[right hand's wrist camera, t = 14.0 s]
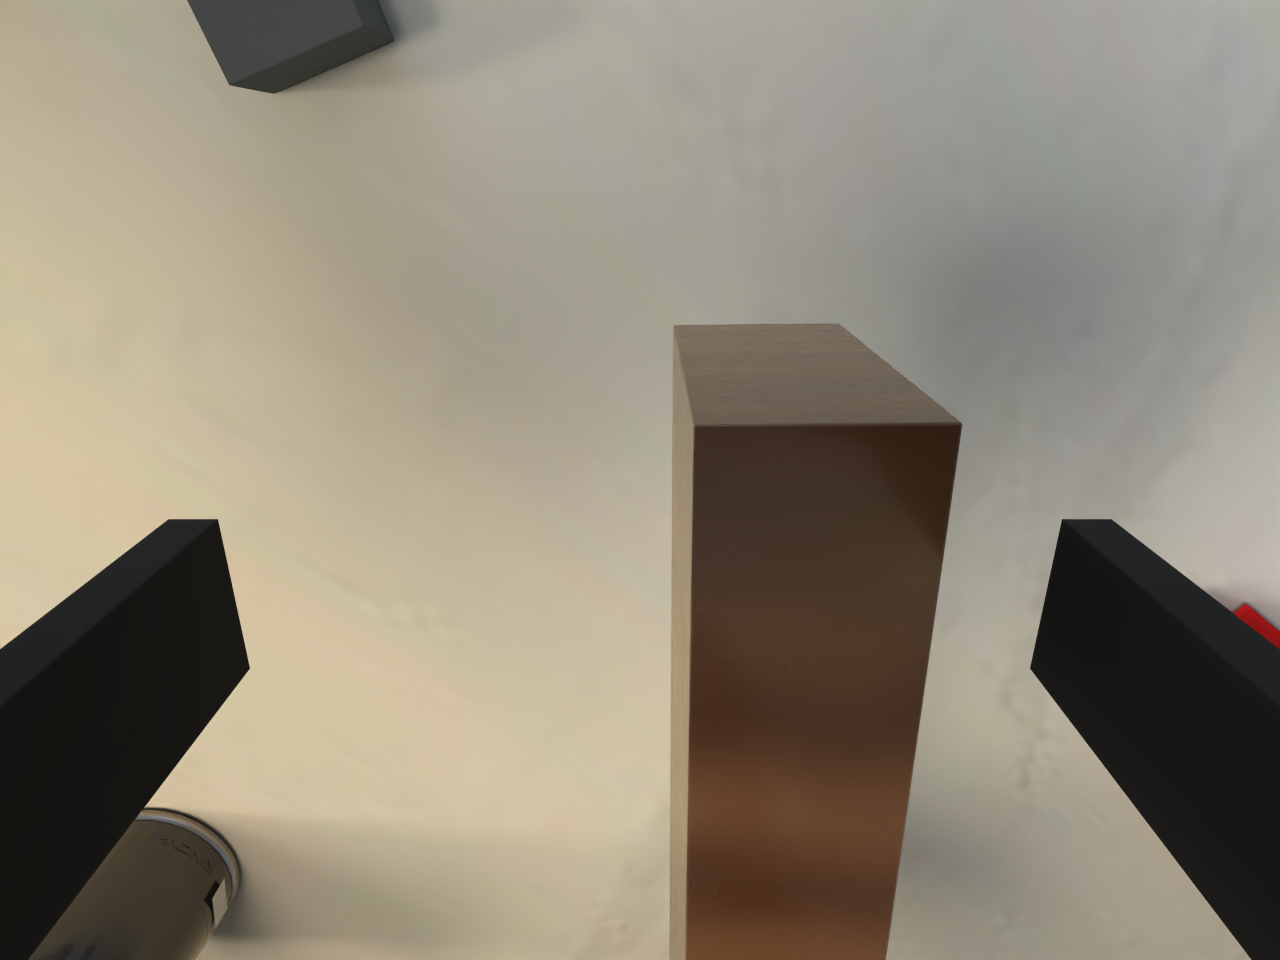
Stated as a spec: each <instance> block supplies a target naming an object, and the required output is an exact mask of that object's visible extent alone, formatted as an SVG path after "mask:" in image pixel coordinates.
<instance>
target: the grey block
mask: <svg viewBox="0 0 1280 960" xmlns="http://www.w3.org/2000/svg"><path fill="white" fill-rule="evenodd" d="M187 1H188V3H189V5H190V7H191V9H192V11H193V13H194V15H195V17H196V19H197V21H198V23H199V25H200V27H201V29H202V31H203V33H204V35H205V37H206V39H207V41H208V43H209V45H210V47H211V49H212V51H213V53H214V55H215V57H216V59H217V61H218V63H219V65H220V67H221V69H222V71H223V73H224V75H225V77H226V79H227V81H228V83H229V85H231V86H236V87H242V88H247V89H252V90H257V91H262V92H267V93H273V94H274V93H276V92H278V91H281V90H283V89H285V88H288V87H290V86H292V85H294V84H297V83H299V82H301V81H304V80H306V79H308V78H311V77H313V76H315V75H317V74H320V73H322V72H324V71H327V70H329V69H331V68H333V67H336V66H338V65H340V64H343V63H345V62H347V61H350V60H352V59H354V58H356V57H359V56H361V55H363V54H366V53H368V52H370V51H372V50H375V49H377V48H379V47H382V46H384V45H386V44H389V43H391V42H393V41H394V39H393V36H392V34H391V32H390V29H389V27H388V24H387V22H386V20H385V17H384V15H383V13H382V10H381V8H380V5H379V3H378V1H377V0H187Z"/></svg>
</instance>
